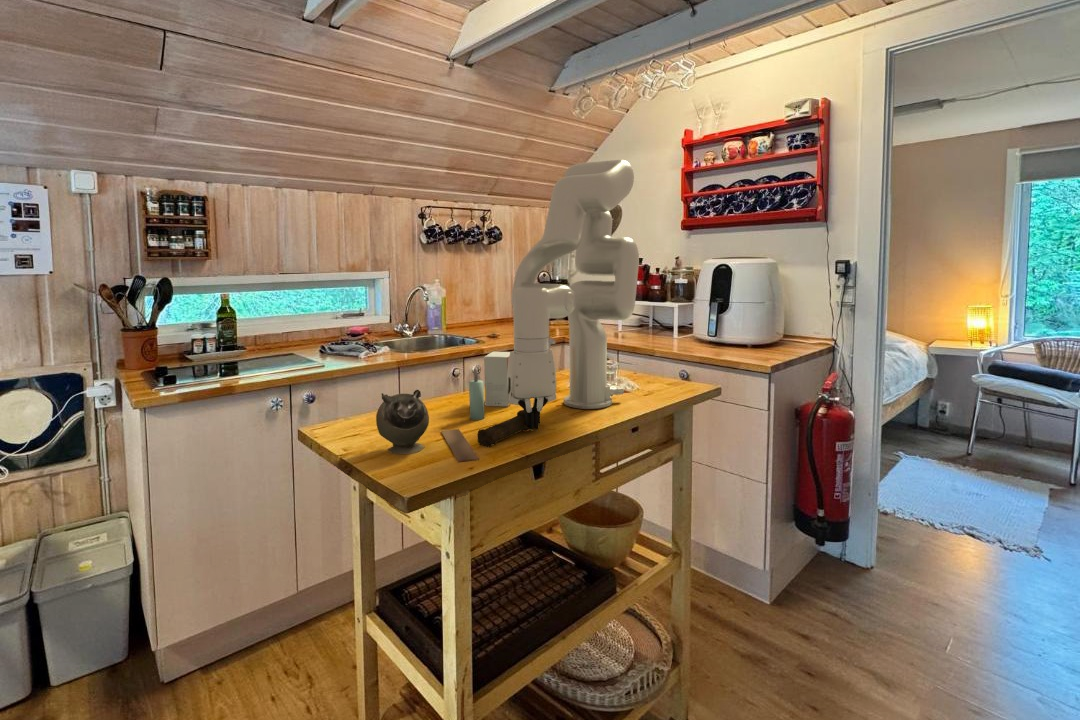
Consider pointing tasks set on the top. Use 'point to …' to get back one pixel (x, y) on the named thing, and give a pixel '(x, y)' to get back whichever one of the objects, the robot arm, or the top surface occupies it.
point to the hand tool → (502, 430)
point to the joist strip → (459, 445)
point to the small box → (496, 379)
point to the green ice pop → (476, 398)
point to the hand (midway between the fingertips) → (532, 428)
